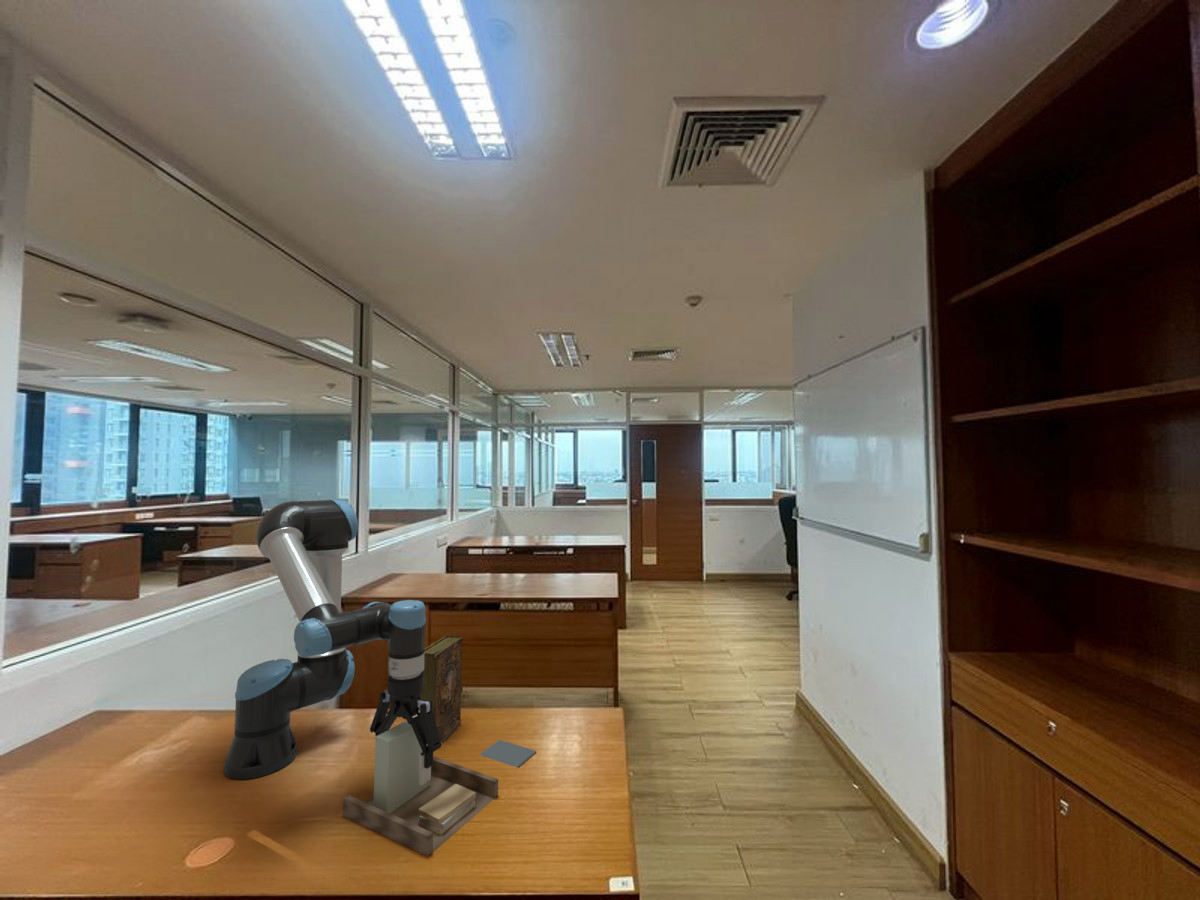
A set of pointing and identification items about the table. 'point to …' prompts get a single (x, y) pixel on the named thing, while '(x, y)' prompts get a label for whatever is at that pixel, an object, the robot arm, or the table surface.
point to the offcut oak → (446, 803)
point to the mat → (508, 753)
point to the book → (444, 683)
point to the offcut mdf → (445, 822)
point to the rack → (406, 817)
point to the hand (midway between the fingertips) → (403, 773)
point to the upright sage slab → (396, 767)
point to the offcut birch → (440, 831)
